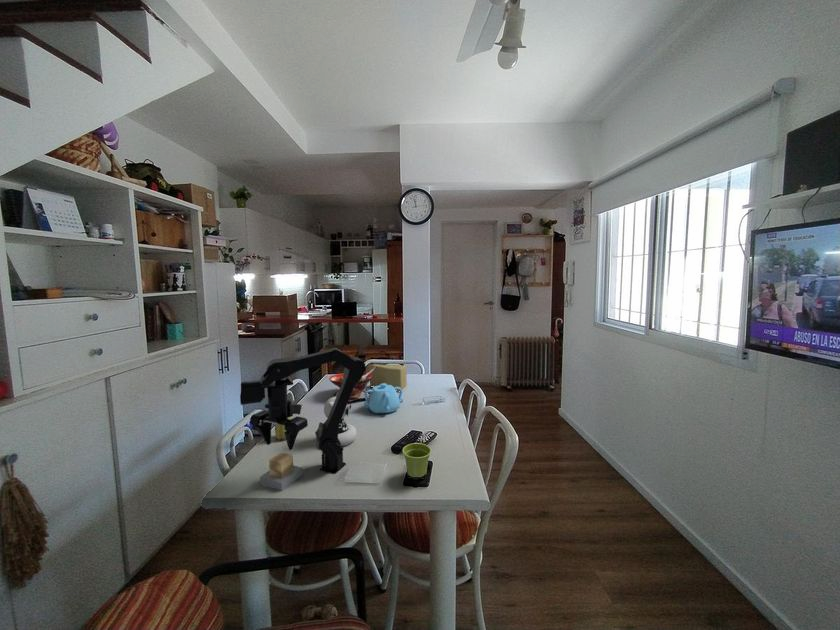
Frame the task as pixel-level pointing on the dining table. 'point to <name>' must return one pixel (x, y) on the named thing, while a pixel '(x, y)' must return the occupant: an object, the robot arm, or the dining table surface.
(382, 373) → the cheese
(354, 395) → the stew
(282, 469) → the oak cube
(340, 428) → the decorative figurine
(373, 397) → the decorative pot
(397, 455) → the dining table surface
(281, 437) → the sauce bottle
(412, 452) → the plant pot
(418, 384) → the dining table surface
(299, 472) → the block
